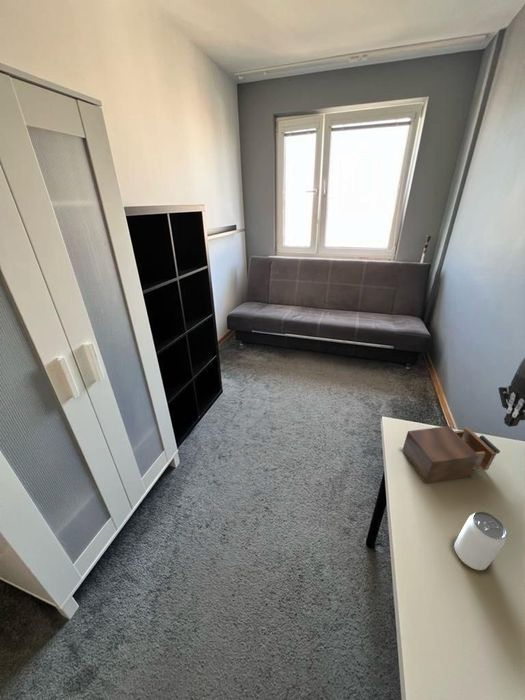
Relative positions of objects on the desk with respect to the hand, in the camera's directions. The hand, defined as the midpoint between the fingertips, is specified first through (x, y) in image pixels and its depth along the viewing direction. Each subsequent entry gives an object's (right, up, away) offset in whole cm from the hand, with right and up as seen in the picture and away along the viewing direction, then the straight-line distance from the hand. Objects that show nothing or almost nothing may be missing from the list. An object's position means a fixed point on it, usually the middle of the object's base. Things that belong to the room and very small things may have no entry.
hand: (509, 424), depth 81 cm
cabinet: (-19, -13, +4) cm, 24 cm away
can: (-24, -25, -17) cm, 39 cm away
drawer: (-10, -11, +5) cm, 16 cm away
